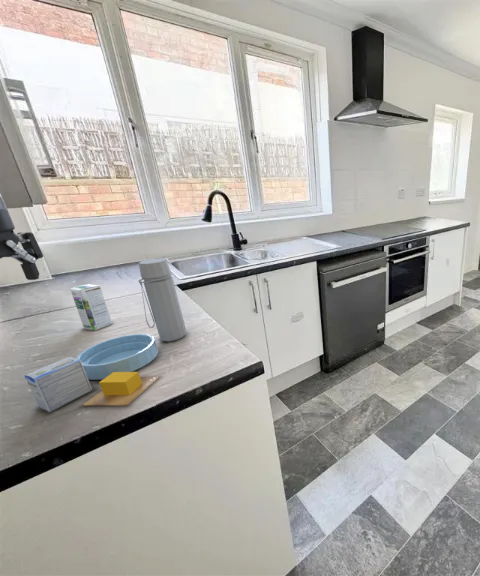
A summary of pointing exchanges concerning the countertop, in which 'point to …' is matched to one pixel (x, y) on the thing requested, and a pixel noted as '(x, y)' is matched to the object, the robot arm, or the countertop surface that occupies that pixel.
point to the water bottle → (162, 299)
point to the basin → (118, 355)
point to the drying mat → (120, 399)
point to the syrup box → (91, 306)
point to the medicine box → (58, 383)
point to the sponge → (120, 383)
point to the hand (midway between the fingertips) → (11, 285)
